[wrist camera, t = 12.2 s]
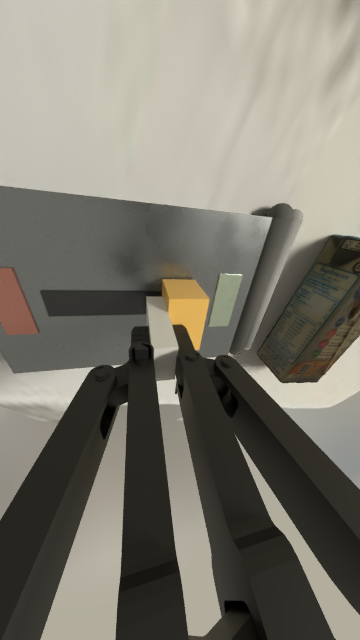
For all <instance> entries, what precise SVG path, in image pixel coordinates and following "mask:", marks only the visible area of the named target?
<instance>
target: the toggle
mask: <svg viewBox="0 0 360 640" xmlns="http://www.w3.org/2000/svg"><path fill="white" fill-rule="evenodd" d="M162 297H164V299H165V303H166V306H167V309H168V313H169V316H170V320H171V323H172V325H177V324H182V325H183V326H185V327H186V328H187V331H188V334H189V336H190V338H191V341H192V343H193V346H194V348H195V350H199V349H200V344H201V339H202V334H203V329H204V324H205V320H206V315H207V310H208V305H209V300H210V299H209V297H208V296H207V295H206V293H205V292H204V291H203V290H202V288H201V287H200V286H199V284H198V283H197V282H196V280H184V279H162Z"/></svg>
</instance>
